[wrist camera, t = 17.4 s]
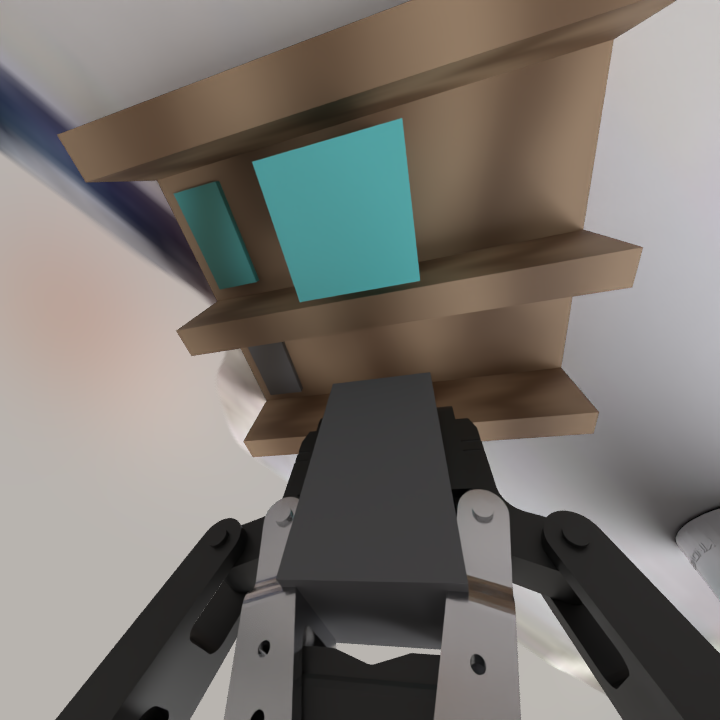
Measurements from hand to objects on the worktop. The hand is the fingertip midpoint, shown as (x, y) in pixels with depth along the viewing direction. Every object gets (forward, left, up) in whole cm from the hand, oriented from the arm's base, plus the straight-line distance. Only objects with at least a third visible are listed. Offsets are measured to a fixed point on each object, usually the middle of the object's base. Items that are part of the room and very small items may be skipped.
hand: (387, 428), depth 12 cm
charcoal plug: (0, 0, -1) cm, 1 cm away
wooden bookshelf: (0, -4, -8) cm, 9 cm away
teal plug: (0, -8, -7) cm, 11 cm away
